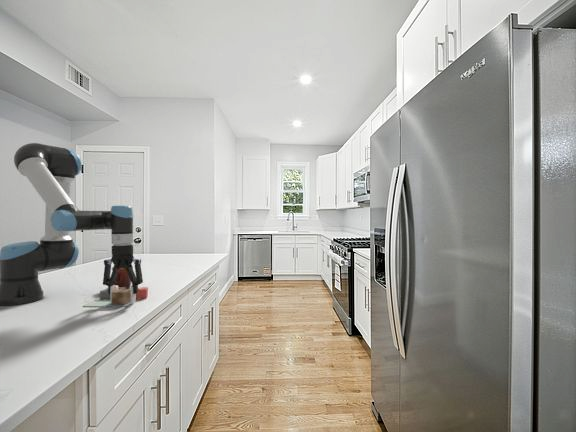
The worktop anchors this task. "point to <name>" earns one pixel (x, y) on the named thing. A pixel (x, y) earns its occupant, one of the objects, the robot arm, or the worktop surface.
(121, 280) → the mug
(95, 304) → the tile
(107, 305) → the tile
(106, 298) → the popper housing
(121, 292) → the tan wooden cuboid
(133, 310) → the worktop surface
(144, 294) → the die
